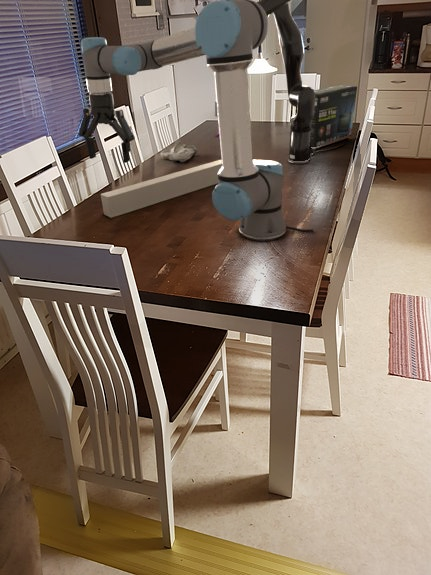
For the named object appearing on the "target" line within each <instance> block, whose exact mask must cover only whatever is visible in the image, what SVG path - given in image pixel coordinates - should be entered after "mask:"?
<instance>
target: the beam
mask: <svg viewBox="0 0 431 575" xmlns="http://www.w3.org/2000/svg"><path fill="white" fill-rule="evenodd" d="M221 167H222V158H221V159H217V160H214V161H210V162H208V163H203V164H200V165H197V166H193V167H190V168H187V169H182V170H180V171H176V172H172V173H169V174H166V175H162V176H159V177H154V178H152V179H149V180H145V181H141V182H138V183H135V184H131V185H127V186H124V187H120V188H116V189H114V190H110V191H106V192H103V193H100V198H101V200H100V201H101V204H102V210H103V215H104V216H107V217H108V218H110V219H112V218H115V217H119V216H121V215H125V214H129V213H132V212H134V211H136V210H140V209H143V208H147V207H150V206H152V205H155V204H158V203H161V202H165V201H168V200H171V199H173V198H176V197H180V196H184V195H186V194H189V193H193V192H195V191H198V190H202V189H205V188H208V187H211V186H214V185H218V170H219V169H220V168H221Z"/></svg>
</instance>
